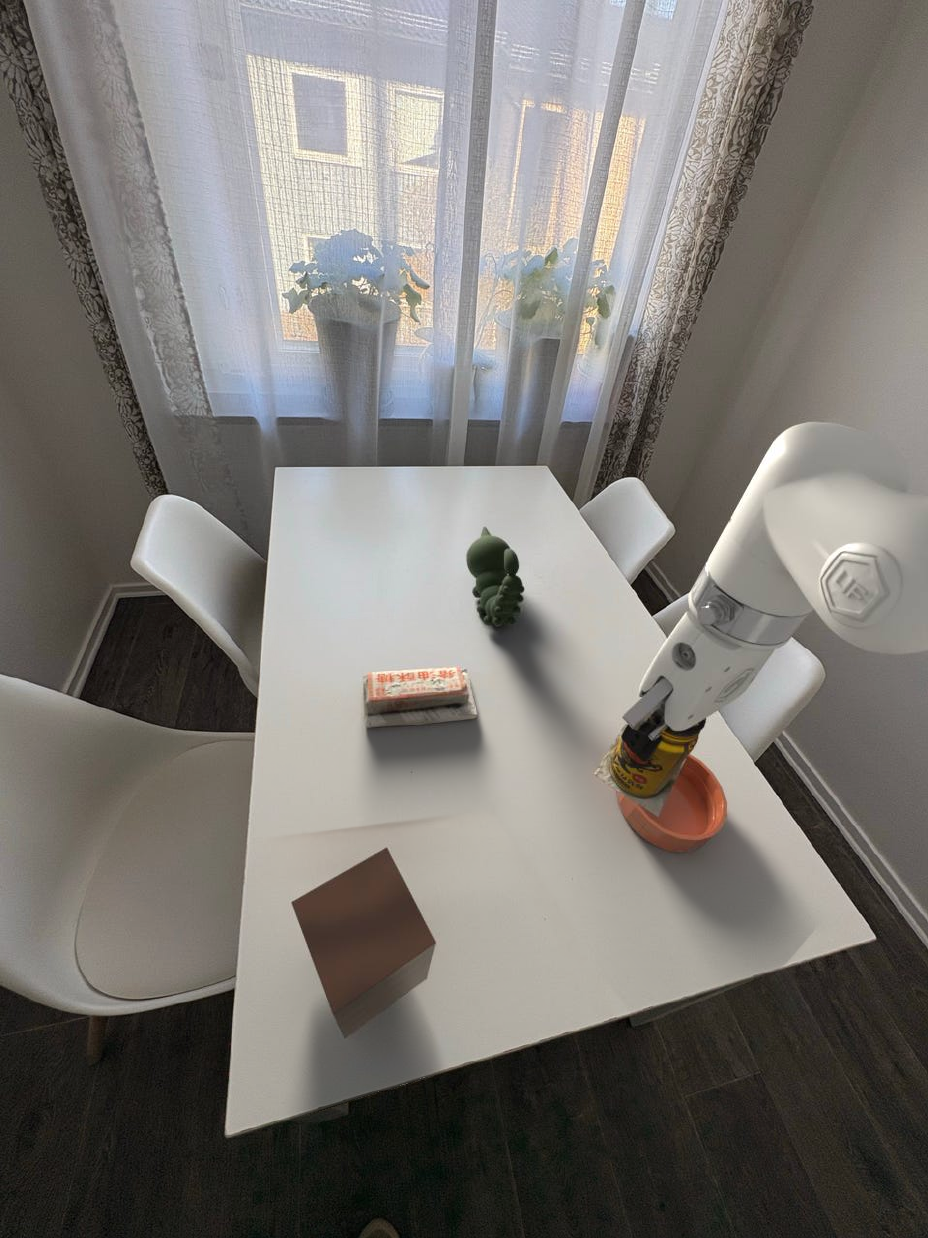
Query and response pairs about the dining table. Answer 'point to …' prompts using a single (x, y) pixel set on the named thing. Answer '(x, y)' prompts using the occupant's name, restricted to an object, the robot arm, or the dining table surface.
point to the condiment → (648, 766)
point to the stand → (365, 939)
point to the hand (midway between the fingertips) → (658, 733)
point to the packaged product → (417, 697)
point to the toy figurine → (495, 579)
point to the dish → (682, 811)
